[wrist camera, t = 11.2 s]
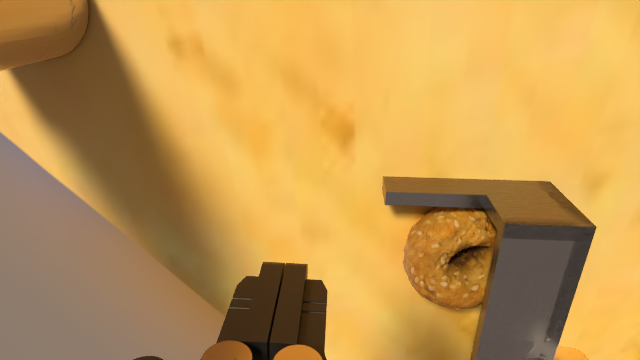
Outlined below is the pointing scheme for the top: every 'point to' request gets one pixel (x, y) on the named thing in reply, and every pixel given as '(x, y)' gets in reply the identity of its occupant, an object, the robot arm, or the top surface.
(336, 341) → the top surface
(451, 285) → the bagel
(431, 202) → the metal dock
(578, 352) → the beer glass
